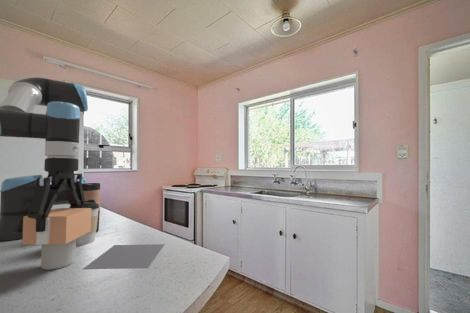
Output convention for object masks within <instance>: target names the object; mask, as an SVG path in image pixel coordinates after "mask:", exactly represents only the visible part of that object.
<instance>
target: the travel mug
mask: <svg viewBox="0 0 470 313" xmlns="http://www.w3.org/2000/svg"><path fill="white" fill-rule="evenodd" d="M82 187H83V193H84V198H85V201H88V200H94V201H95V202H96V204H99V208H98V221H97V229H96V233H98V232H99V230H100V229H99V228H100V215H101V214H100V213H101V212H100V211H101V183H99V182H88V183H87V182H85V183H84V184H82ZM80 201H81V200H80Z"/></svg>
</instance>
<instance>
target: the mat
mask: <svg viewBox="0 0 470 313" xmlns="http://www.w3.org/2000/svg"><path fill="white" fill-rule="evenodd" d="M165 245H166V244H164V243H163V244H159V243H158V244H153V243H152V244H113V246H111V247H110V248H109V249H107V250H106V251H105V252H103V253H102V254H100V255H99V256H98V257H97V258H95V259H94V260H93V261H91V262H90V263H89V264H87V265H86V266H84V267H83V268H82V270H113V269H114V270H115V269H116V270H118V269H121V270H122V269H149V267H150V266H151V264H152V263H153V262H154V260H155V259H156V258H157V256H158V255H159V253H160V252H161V251H162V250H163V247H164V246H165Z"/></svg>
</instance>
